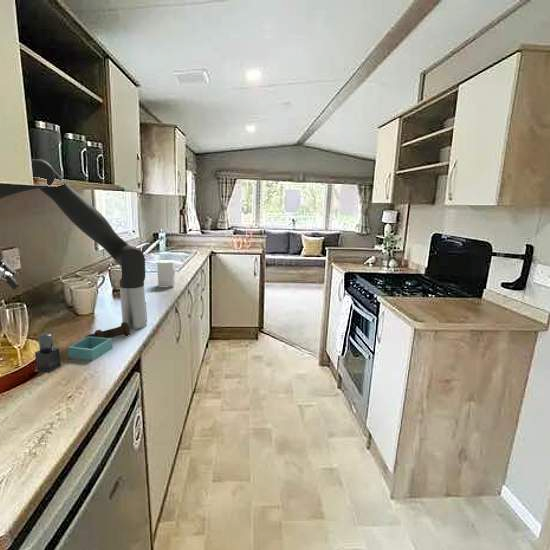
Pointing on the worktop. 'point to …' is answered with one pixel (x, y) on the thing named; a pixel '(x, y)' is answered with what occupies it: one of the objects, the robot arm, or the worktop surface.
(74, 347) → the bin
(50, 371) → the stud plate
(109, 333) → the brown bone toy
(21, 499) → the worktop surface
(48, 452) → the worktop surface
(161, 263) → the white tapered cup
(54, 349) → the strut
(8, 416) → the worktop surface
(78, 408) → the worktop surface
